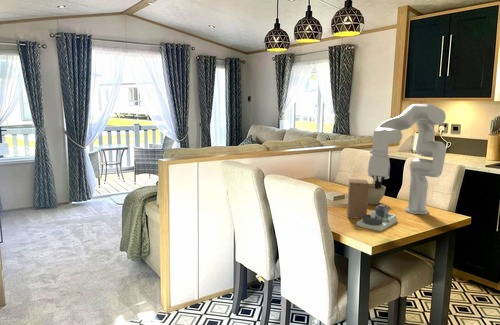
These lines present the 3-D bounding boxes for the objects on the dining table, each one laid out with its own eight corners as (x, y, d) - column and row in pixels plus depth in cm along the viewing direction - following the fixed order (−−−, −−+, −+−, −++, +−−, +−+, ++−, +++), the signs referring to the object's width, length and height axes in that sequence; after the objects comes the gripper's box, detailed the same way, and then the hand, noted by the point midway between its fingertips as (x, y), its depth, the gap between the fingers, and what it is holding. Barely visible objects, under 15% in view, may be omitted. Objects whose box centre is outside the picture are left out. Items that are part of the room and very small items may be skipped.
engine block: (379, 215, 211) (379, 203, 210) (388, 217, 208) (389, 205, 207) (374, 217, 207) (375, 205, 206) (383, 219, 204) (384, 207, 203)
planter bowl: (352, 201, 247) (353, 185, 245) (368, 198, 257) (369, 182, 255) (374, 207, 234) (375, 190, 233) (389, 203, 244) (391, 187, 242)
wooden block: (366, 219, 212) (368, 183, 208) (347, 217, 213) (349, 182, 210) (364, 213, 221) (367, 179, 218) (347, 212, 223) (349, 178, 220)
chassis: (374, 216, 217) (374, 202, 215) (397, 221, 208) (398, 207, 207) (356, 225, 200) (357, 210, 199) (380, 231, 192) (382, 215, 190)
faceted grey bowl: (367, 218, 205) (368, 213, 205) (384, 221, 199) (384, 217, 199) (360, 222, 198) (360, 217, 198) (377, 226, 193) (377, 221, 192)
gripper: (363, 153, 198) (361, 187, 202) (391, 156, 189) (389, 192, 192) (369, 151, 204) (367, 185, 207) (397, 154, 194) (394, 189, 198)
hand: (377, 188), depth 200 cm, fingers closed
